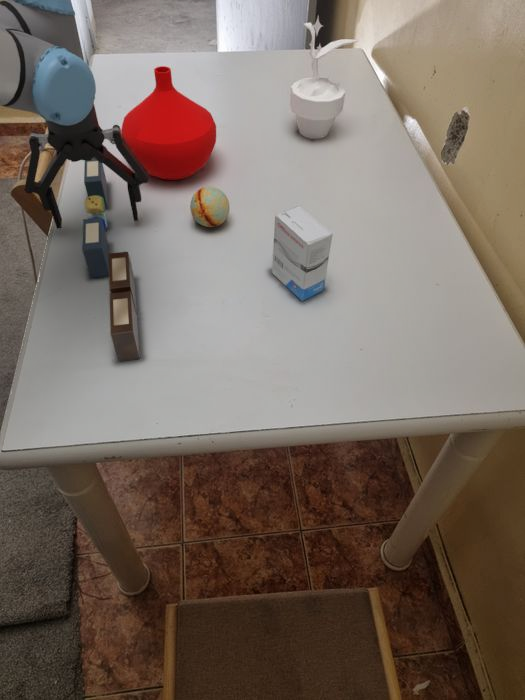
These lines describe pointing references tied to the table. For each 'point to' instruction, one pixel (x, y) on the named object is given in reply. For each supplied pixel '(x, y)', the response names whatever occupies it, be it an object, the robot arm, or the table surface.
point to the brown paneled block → (123, 307)
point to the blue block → (95, 223)
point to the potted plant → (317, 93)
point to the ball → (209, 206)
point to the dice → (96, 208)
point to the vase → (169, 131)
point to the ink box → (300, 252)
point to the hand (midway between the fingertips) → (98, 220)
